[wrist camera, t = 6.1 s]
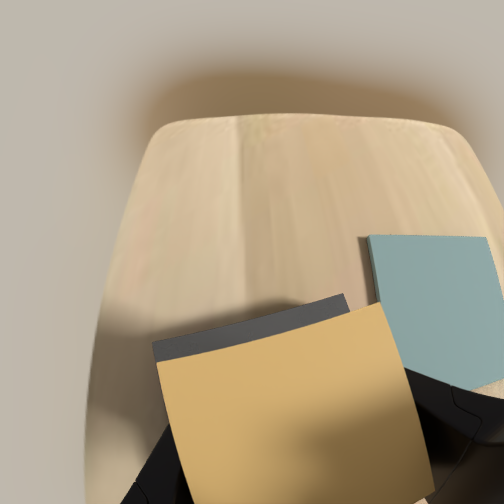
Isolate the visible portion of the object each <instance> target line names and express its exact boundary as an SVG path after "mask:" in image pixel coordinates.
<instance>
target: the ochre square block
mask: <svg viewBox="0 0 504 504" xmlns="http://www.w3.org/2000/svg"><path fill="white" fill-rule="evenodd" d="M156 364H157V369H158V374H159V378H160V383H161V388H162V392H163V397H164V401H165V405H166V410H167V414H168V418H169V422H170V426H171V429H172V433H173V437H174V441H175V444H176V448H177V451H178V455H179V458H180V461H181V465H182V468H183V471H184V474H185V477H186V480H187V483H188V486H189V489H190V492H191V495H192V498H193V501H194V504H414V503H416V502H417V501H419V500H421V499H423V498H424V497H426V496H428V495H429V494H431V493H433V492H434V491H435V487H434V482H433V477H432V472H431V467H430V462H429V457H428V453H427V449H426V444H425V440H424V436H423V432H422V428H421V425H420V421H419V417H418V413H417V410H416V406H415V403H414V399H413V396H412V393H411V389H410V386H409V383H408V380H407V376H406V373H405V370H404V367H403V364H402V361H401V358H400V355H399V352H398V349H397V347H396V344H395V341H394V338H393V335H392V333H391V330H390V327H389V324H388V322H387V319H386V316H385V314H384V311H383V309H382V306H381V304H380V302H378V303H375V304H372V305H369V306H366V307H363V308H361V309H358V310H355V311H352V312H349V313H346V314H343V315H340V316H337V317H334V318H331V319H327V320H324V321H321V322H318V323H315V324H311V325H308V326H305V327H301V328H298V329H295V330H291V331H288V332H284V333H281V334H277V335H273V336H270V337H266V338H262V339H259V340H255V341H251V342H247V343H243V344H239V345H235V346H231V347H227V348H223V349H219V350H214V351H210V352H205V353H201V354H196V355H192V356H187V357H182V358H177V359H172V360H167V361H162V362H157V363H156Z"/></svg>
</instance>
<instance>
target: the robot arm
mask: <svg viewBox="0 0 504 504" xmlns="http://www.w3.org/2000/svg"><path fill="white" fill-rule="evenodd" d="M404 370H405V373H406V376H407V380H408V383H409V386H410V389H411V393H412V396H413V399H414V403H415V406H416V410H417V413H418V417H419V421H420V425H421V428H422V432H423V436H424V440H425V444H426V449H427V453H428V457H429V462H430V467H431V472H432V477H433V482H434V487H435V491H434V492H433V493H431V494H429V495H428V496H426V497H424V498H425V499H426V501H427V503H428V504H504V399H500V398H496V397H491V396H486V395H482V394H478V393H475V392H471V391H468V390H465V389H462V388H459V387H456V386H453V385H450V384H448V383H445V382H442V381H440V380H437V379H434V378H431V377H429V376H426V375H423V374H421V373H418V372H416V371H413V370H410V369H408V368H405V367H404ZM135 481H136V482H134V483H133V485H132V486H131V488H130V490H129V491H128V493H127V494H126V496H125V497H124V499H123V500H122V502H121V503H120V504H194V501H193V498H192V495H191V492H190V489H189V486H188V483H187V480H186V477H185V474H184V471H183V468H182V465H181V461H180V458H179V455H178V451H177V448H176V444H175V441H174V437H173V433H172V429H171V426H170V422H169V424H168V426H167V427H166V429H165V431H164V432H163V434H162V436H161V437H160V439H159V441H158V443H157V444H156V446H155V448H154V449H153V451H152V453H151V454H150V456H149V458H148V460H147V461H146V463H145V465H144V466H143V468H142V470H141V471H140V473H139V475H138V476H137V478H136V480H135Z"/></svg>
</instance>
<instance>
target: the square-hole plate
mask: <svg viewBox="0 0 504 504" xmlns="http://www.w3.org/2000/svg"><path fill="white" fill-rule="evenodd" d="M349 312H350V310H349V308H348V305H347V302H346V300H345V297H344V294H343V293H342V294H339V295H335V296H332V297H329V298H326V299H322V300H319V301H316V302H312V303H309V304H305V305H302V306H298V307H295V308H291V309H288V310H284V311H281V312H277V313H273V314H270V315H266V316H262V317H258V318H254V319H251V320H247V321H243V322H239V323H235V324H231V325H227V326H223V327H219V328H214V329H210V330H206V331H202V332H197V333H193V334H188V335H184V336H179V337H175V338H170V339H165V340H160V341H155V342H152V345H153V351H154V356H155V361H156V363H157V362H162V361H167V360H172V359H177V358H182V357H187V356H192V355H196V354H201V353H205V352H210V351H214V350H219V349H223V348H227V347H231V346H235V345H239V344H243V343H247V342H251V341H255V340H259V339H262V338H266V337H270V336H273V335H277V334H281V333H284V332H288V331H291V330H295V329H298V328H301V327H305V326H308V325H311V324H315V323H318V322H321V321H324V320H327V319H331V318H334V317H337V316H340V315H343V314H346V313H349ZM156 367H157V364H156ZM157 372H158V369H157ZM158 376H159V374H158ZM159 381H160V378H159ZM160 386H161V383H160ZM161 390H162V388H161ZM162 395H163V392H162ZM163 399H164V397H163ZM164 403H165V401H164ZM165 408H166V405H165ZM166 412H167V410H166ZM167 416H168V414H167ZM168 420H169V418H168Z"/></svg>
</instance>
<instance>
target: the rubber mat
mask: <svg viewBox="0 0 504 504" xmlns="http://www.w3.org/2000/svg"><path fill="white" fill-rule="evenodd" d="M367 244H368V249H369V255H370V260H371V266H372V272H373V278H374V284H375V291H376V298H377V303H378V302H380V304H381V306H382V309H383V311H384V314H385V316H386V319H387V322H388V324H389V327H390V330H391V333H392V335H393V338H394V341H395V344H396V347H397V349H398V352H399V355H400V358H401V361H402V364H403V367H405V368H408V369H410V370H413V371H416V372H418V373H421V374H423V375H426V376H429V377H431V378H434V379H437V380H440V381H442V382H445V383H448V384H450V385H453V386H456V387H459V388H462V389H465V390H468V391H469V390H472V389H475V388H478V387H481V386H484V385H487V384H490V383H493V382H495V381H498V380H501V379H503V378H504V300H503V296H502V291H501V287H500V283H499V279H498V275H497V272H496V268H495V264H494V261H493V258H492V254H491V251H490V248H489V245H488V242H487V239H486V237H464V236H422V235H369V236H368V237H367Z"/></svg>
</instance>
